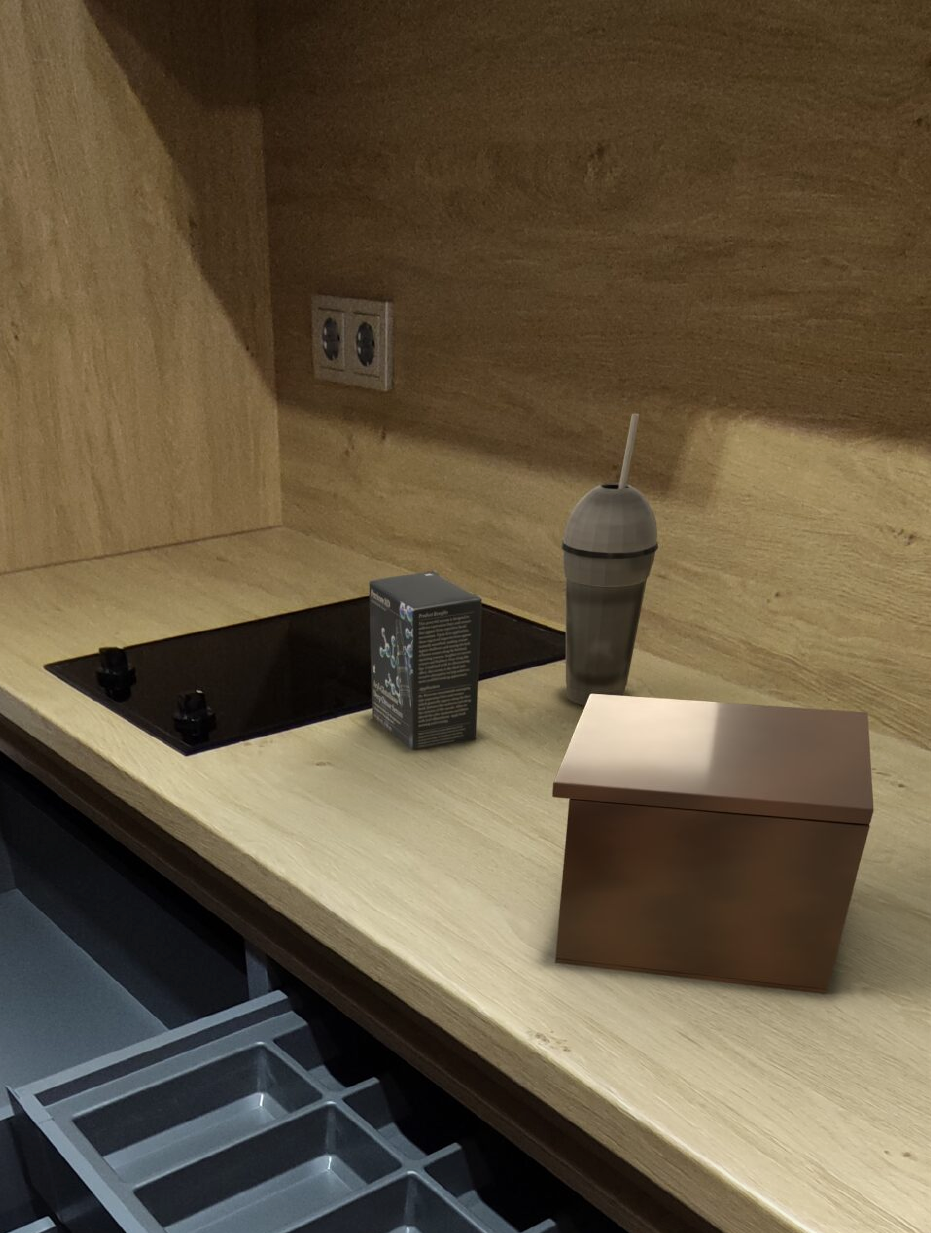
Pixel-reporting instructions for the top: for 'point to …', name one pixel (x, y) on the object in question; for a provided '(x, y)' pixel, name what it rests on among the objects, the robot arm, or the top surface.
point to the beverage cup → (606, 582)
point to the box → (424, 659)
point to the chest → (706, 893)
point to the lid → (721, 758)
